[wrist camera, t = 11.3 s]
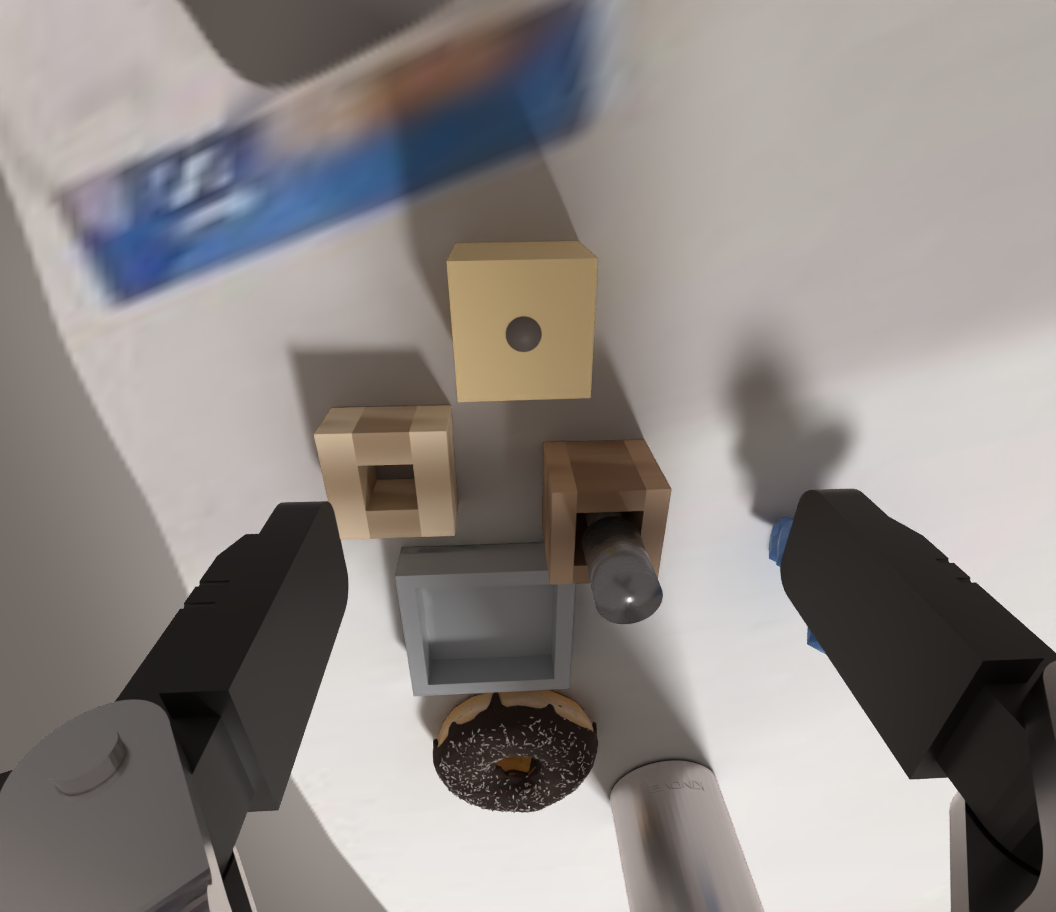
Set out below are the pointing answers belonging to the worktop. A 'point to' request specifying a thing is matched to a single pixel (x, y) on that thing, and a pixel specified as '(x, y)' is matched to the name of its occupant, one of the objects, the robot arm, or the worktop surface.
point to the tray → (484, 619)
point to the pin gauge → (619, 569)
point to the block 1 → (522, 319)
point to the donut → (515, 750)
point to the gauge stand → (389, 439)
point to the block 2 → (599, 499)
